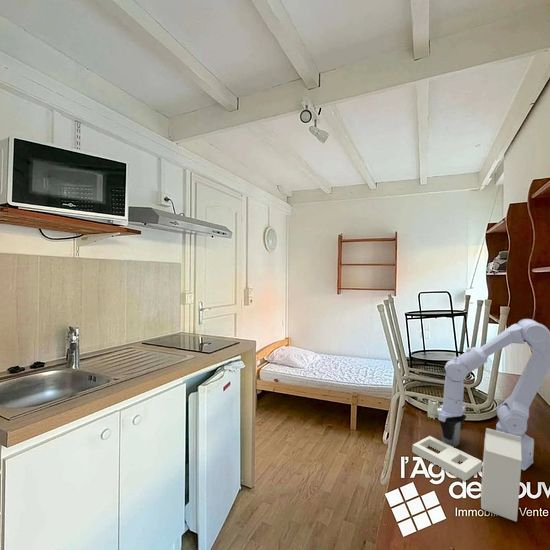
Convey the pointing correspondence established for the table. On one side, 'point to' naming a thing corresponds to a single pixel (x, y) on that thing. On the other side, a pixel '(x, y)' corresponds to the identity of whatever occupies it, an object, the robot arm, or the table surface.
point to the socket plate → (448, 457)
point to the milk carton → (501, 474)
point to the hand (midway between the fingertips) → (450, 436)
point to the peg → (453, 435)
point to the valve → (433, 408)
